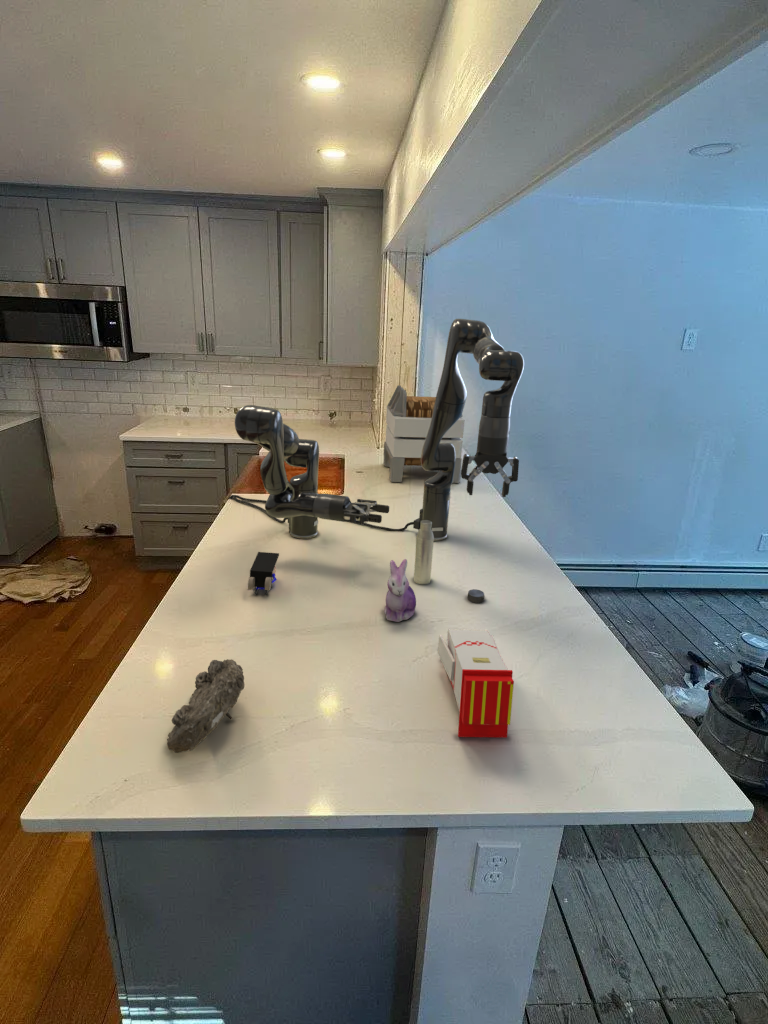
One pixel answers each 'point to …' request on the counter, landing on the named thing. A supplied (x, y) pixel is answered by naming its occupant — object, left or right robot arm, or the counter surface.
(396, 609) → the figurine
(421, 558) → the bottle
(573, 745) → the counter surface
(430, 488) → the right robot arm
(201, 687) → the fossil
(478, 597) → the cap
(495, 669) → the toy
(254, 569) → the black toy truck
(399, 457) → the grey wooden crate
